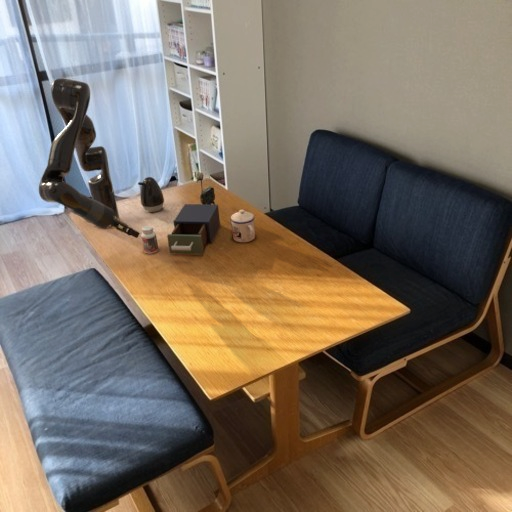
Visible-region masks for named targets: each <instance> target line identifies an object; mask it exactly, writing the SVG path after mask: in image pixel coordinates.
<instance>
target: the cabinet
mask: <svg viewBox="0 0 512 512" xmlns="http://www.w3.org/2000/svg"><path fill="white" fill-rule="evenodd" d="M178 223H187V224H207V232H208V240H207V242H206V244H209V245H210V244H212V243H213V241H214V239H215V236H216V235H217V234H218V230H219V229H220V226H221V220H220V211H219V204H215V205H214V204H213V203H212V204H202V203H193V204H192V203H188V204H187V203H185V204H183V206H182V208H181V209H180V211H179V212H178V213H177V215H176V216H175V218H174V220H173V227H174V229H175V227H176V225H177V224H178Z"/></svg>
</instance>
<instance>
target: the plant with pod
mask: <svg viewBox="0 0 512 512" xmlns="http://www.w3.org/2000/svg"><path fill="white" fill-rule="evenodd" d="M195 178H196V183H199V182H200V186H201V191H200V193H199V194H200V195H199V199H200V204H212V205H216V203H215V200H216V194H215V188H214V186H210V185H208V186H206V187H204V188H203V180H204V173H203V172H200V171H198V172H197V173H196V177H195Z"/></svg>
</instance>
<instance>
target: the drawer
mask: <svg viewBox="0 0 512 512" xmlns="http://www.w3.org/2000/svg"><path fill="white" fill-rule="evenodd" d="M166 237H167V243H168V248H169V254H181V255H182V254H183V255H184V254H185V255H187V254H188V255H204V248H205V246H206V244H207V243H206V242H207V240H208V232H207V224H187V223H178V224H177V225H176V227H175V228H174V229H173V230H172V231H171V233H168V234H167V235H166Z"/></svg>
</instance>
